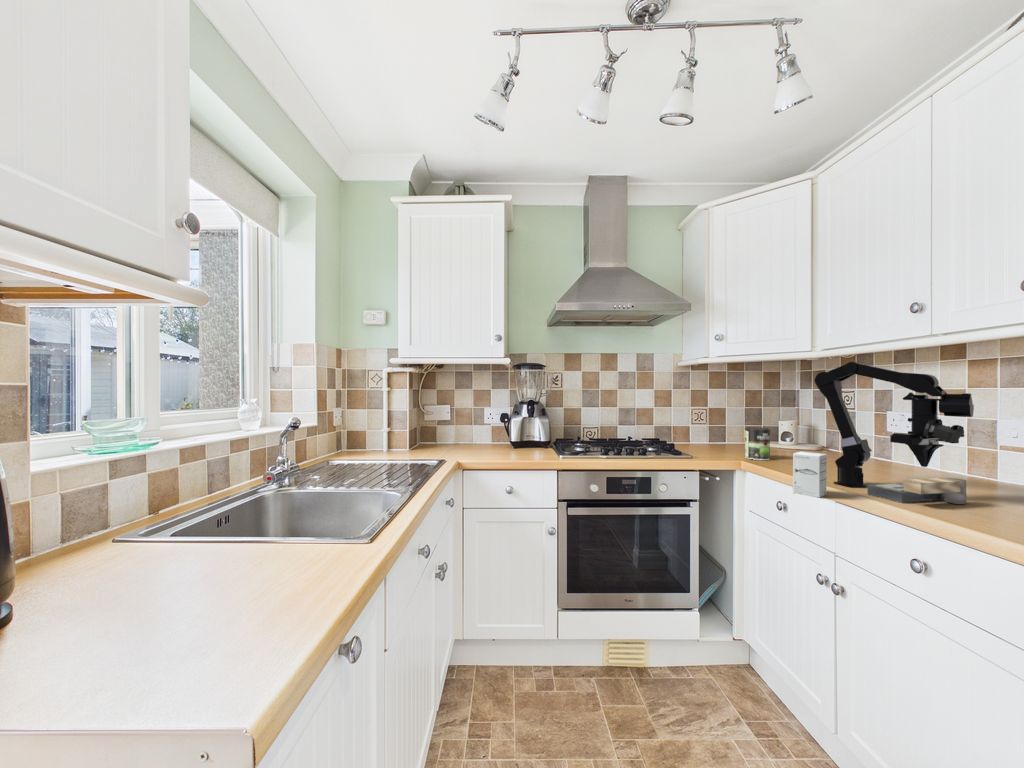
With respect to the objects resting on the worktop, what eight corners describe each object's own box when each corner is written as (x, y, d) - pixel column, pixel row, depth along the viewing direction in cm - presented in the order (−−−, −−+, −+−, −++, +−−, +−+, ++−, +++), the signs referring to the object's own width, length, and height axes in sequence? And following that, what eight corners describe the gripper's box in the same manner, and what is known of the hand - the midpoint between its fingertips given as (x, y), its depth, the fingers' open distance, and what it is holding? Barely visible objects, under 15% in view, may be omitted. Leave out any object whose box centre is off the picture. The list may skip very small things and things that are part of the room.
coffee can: (775, 460, 200) (775, 429, 201) (755, 461, 198) (755, 429, 198) (758, 456, 211) (758, 427, 211) (739, 457, 208) (739, 427, 209)
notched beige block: (952, 499, 129) (952, 477, 129) (970, 503, 125) (970, 480, 125) (903, 502, 126) (903, 479, 126) (920, 506, 121) (920, 483, 121)
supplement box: (791, 493, 137) (791, 453, 138) (800, 490, 142) (800, 450, 142) (819, 498, 132) (819, 455, 132) (827, 494, 137) (827, 453, 137)
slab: (867, 494, 136) (867, 483, 136) (919, 491, 140) (919, 481, 140) (901, 503, 127) (901, 491, 127) (956, 499, 131) (956, 488, 131)
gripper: (929, 417, 125) (929, 472, 125) (980, 416, 129) (980, 470, 128) (888, 414, 136) (888, 465, 136) (936, 414, 139) (937, 464, 139)
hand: (924, 466), depth 135 cm, fingers closed
